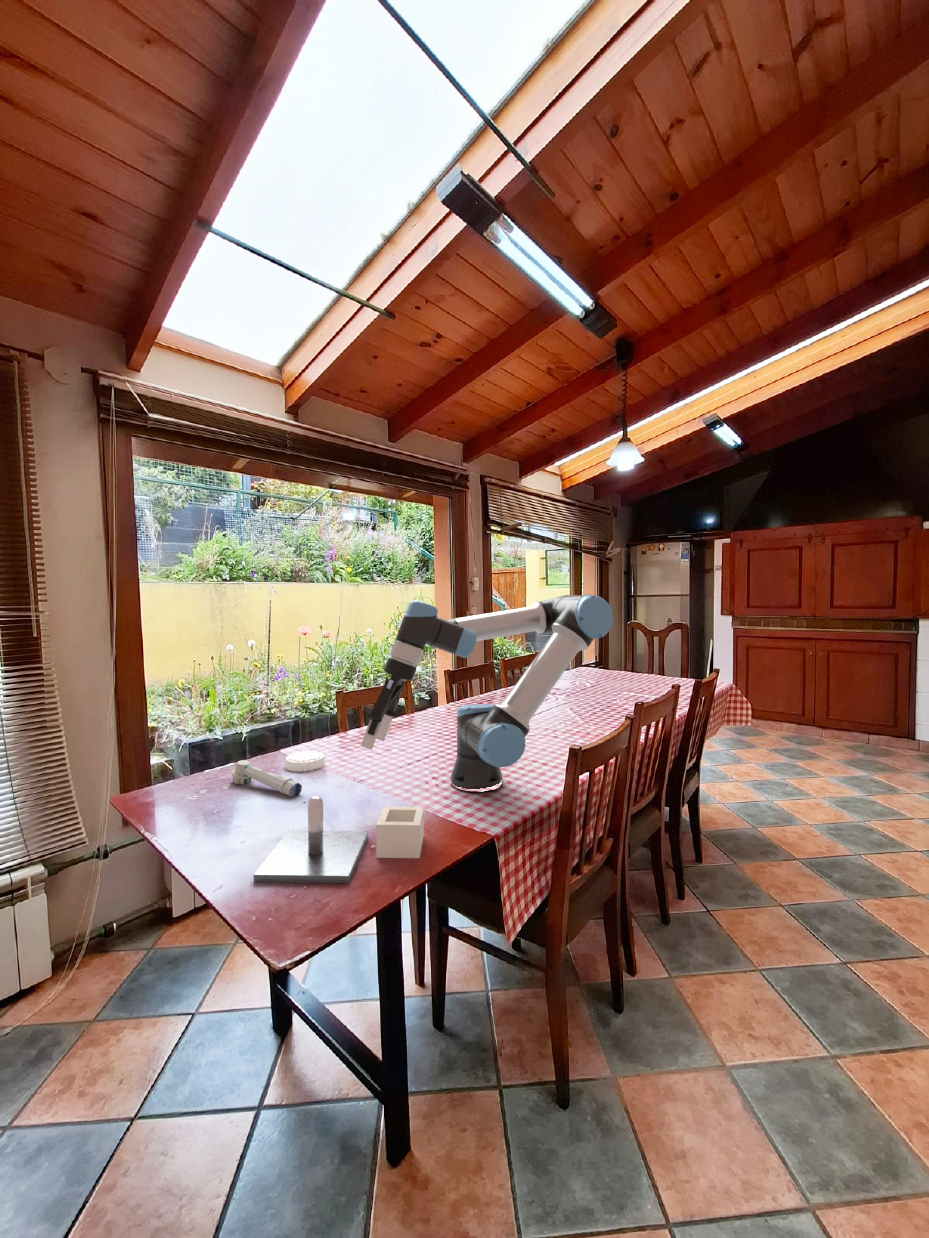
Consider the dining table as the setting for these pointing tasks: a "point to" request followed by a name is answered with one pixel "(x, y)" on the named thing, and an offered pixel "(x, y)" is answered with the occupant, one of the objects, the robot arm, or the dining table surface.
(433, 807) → the dining table surface
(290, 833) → the post base
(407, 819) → the collar
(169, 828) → the dining table surface
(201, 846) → the dining table surface
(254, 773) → the toothbrush head
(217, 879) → the dining table surface
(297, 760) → the mooncake
